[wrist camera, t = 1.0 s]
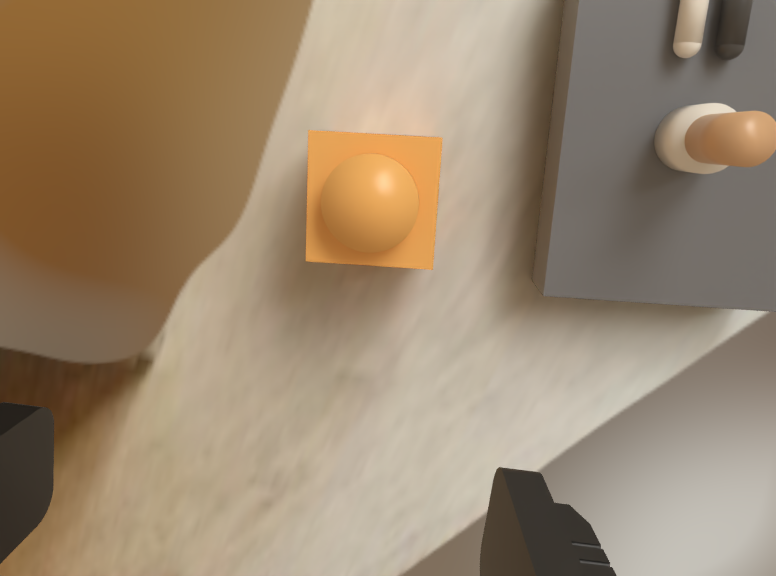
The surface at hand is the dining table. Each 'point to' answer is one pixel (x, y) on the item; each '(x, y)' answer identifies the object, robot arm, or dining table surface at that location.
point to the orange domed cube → (372, 199)
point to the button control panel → (662, 155)
